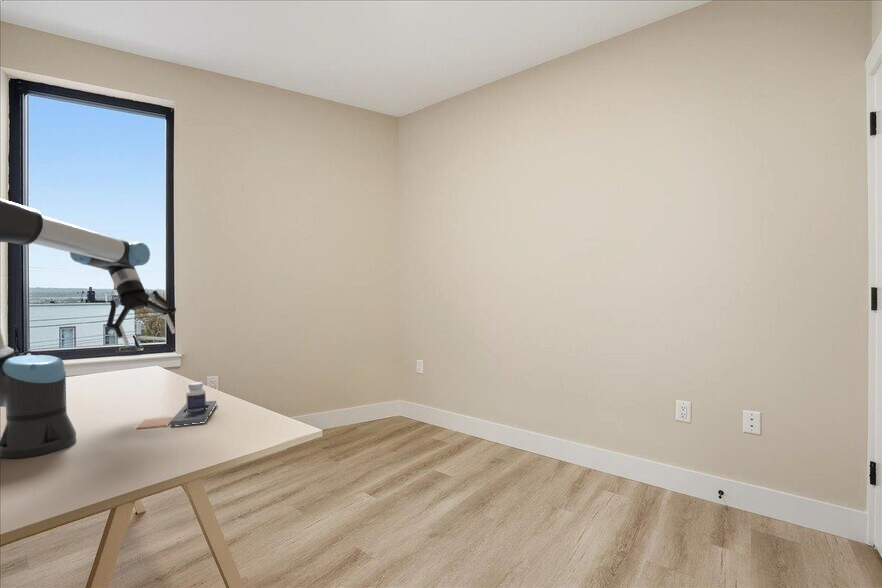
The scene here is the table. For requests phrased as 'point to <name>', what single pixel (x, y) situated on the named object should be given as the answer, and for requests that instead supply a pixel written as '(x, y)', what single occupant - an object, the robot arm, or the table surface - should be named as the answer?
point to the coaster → (155, 422)
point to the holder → (192, 415)
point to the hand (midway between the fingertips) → (151, 338)
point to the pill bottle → (196, 397)
